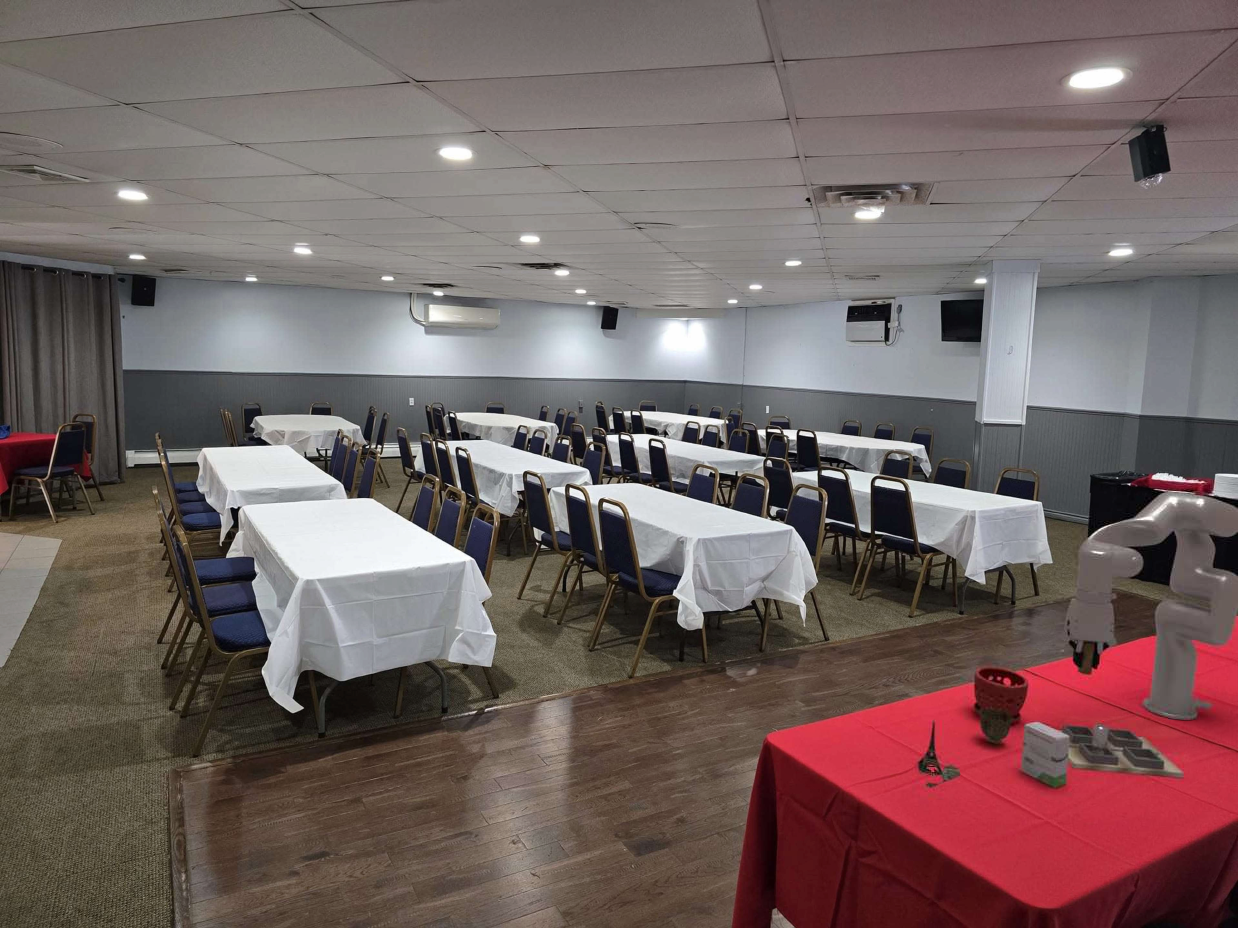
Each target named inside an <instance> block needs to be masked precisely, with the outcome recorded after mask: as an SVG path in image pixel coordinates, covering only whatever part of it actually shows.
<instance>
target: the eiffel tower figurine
mask: <svg viewBox="0 0 1238 928" xmlns="http://www.w3.org/2000/svg"><path fill="white" fill-rule="evenodd" d="M935 725H936V722H935V720H933V721H932V727H931V734H930V740H929V745H928V746H927V751H926V753H924V754H923V757H922V758H921V759H920V760H918V761H917V762H916V764H917V767H918V771H919V774H921V775H922V774H923V775H930V776H931V775H932V776H940V777H941V779H942V782H941V783H939V784H938V783H934V782H933V783H932V782H926V783H925V787H927V788H932V787H934V786H938V785H941V784H943V783H945V782H948V781H950V780H952V779H955V778H957V777H960V776H961V772H960V769H959V768H958V767H957V766H955V765H952V764H947V765H945V766H944V767H945V768H944V767H943V768H944V771H943V770H941V768H942V766H941V764H940V762H939V758H938V757H937V756H939V757H941V756H940V755H938V754H936V751H937V749H936V747H935V746H936V745H935V744H936V743H935V731H936V729H935V728H936V727H935ZM936 755H937V756H936ZM929 765H933V766H929ZM927 767H936V768H937V769H938V772H937V770H935V769H934V771H935V772H931V770H929V769H927ZM940 767H941V768H940ZM933 773H934V774H933ZM936 773H937V774H936ZM927 783H928V784H927Z"/></svg>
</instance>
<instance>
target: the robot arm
mask: <svg viewBox="0 0 1238 928" xmlns="http://www.w3.org/2000/svg"><path fill="white" fill-rule="evenodd" d="M1173 532H1174V534H1175V537H1176V544H1177V545H1176V551H1175V556H1174V560H1173V564H1172V569H1171V573H1170V579H1169V587H1170V590H1171V592H1173V593H1175V594H1177V596H1178V595H1179V596H1181V597H1185V598H1187V599H1192V600H1196V601H1200V602H1204V603H1209V604H1210V608H1209V607H1206V606H1202V605H1199V604H1195V603H1191V602H1187V601H1183V600H1179V599H1178V600H1177V599H1166V600H1163V601H1161V602H1160V603H1158V605H1157V606H1156V609H1155V610H1154V611H1155V612H1154V622H1155V630H1156V631H1155V632H1156V635H1155V636H1156V641H1155V652H1154V660H1153V667H1152V669H1153V670H1152V678H1151V688H1150V696H1149V697H1146V698H1144V699H1143V700H1142V706H1143V707H1144V708H1145V709H1146V710H1148V711H1149V712H1151V713H1154V714H1156V715H1159V716H1162V717H1164V718H1169V719H1174V720H1182V721H1183V720H1184V721H1192V720H1196V719H1197V718H1198V711H1197V710H1199V709H1204V710H1211V709H1212V704H1211V701H1210V702H1209V701H1201V699H1200V698H1194V697H1193V694H1194V687H1195V686H1194V685H1195V677H1196V672H1197V671H1196V669H1197V661H1198V652H1197V648H1196V645H1195V643H1194V641H1195V642H1199V643H1202V644H1205V645H1209V646H1214V647H1223V646H1225V645H1226V644H1227V643H1228V642H1229V640H1230V639H1231V637H1232V635H1233V631H1234V626H1235V622H1236V618H1237V614H1238V575H1236V573H1234V572H1233V571H1232V572H1231V571H1230V570H1225V569H1222V568H1221V569H1220V568H1216V567H1215V568H1214V567H1213V565H1214V559H1215V556H1216V555H1215V554H1216V545H1215V543H1214V541H1213V539H1212V537H1211V536H1216V537H1224V538H1229V537H1232V536H1234V535H1236V534H1237V533H1238V507H1236V506H1234V505H1231V504H1230V503H1227V502H1223V501H1222V500H1219V499H1216V498H1213V497H1209V496H1207V495H1206V496H1205V495H1202V494H1193V493H1186V492H1177V491H1166V492H1163V493H1160V494H1159V495H1157V496H1156V497H1155V498H1154V499H1153V500H1152V501H1150V503H1148V504H1147V505H1146V506H1145V507H1144V508H1143V509H1142V510H1141V511H1139V513H1137V514H1136V515H1135V516H1134V517H1133V518H1129V519H1125V520H1121V521H1118V522H1115V523H1111V524H1108V525H1105V526H1102V527H1100V528H1099V529H1096V530H1095V531H1094V532H1093V533H1092V534H1091V535H1090V536H1089V537H1087V538H1086V539H1085V540H1084V541H1083V543H1082V544H1081V546H1079V547H1080V548H1079V550H1078V553H1077V554H1078V555H1077V557H1078V563H1079V564H1078V570H1077V580H1076V588H1075V589H1076V590H1075V598H1074V597H1073V598H1071V600H1070V602H1069V605H1068V608H1067V612H1066V616H1065V621H1064V622H1065V623H1064V626H1063V627H1064V629H1063V631H1062V633H1061V634H1060V636H1059V639H1060V640H1062V642H1065V643H1067V644H1068V645H1069V646H1070V647H1071V649H1073V651H1072V653H1073V655H1072V662H1073V664H1074V665H1075V667H1077V669H1078V668H1081V667H1082V661H1083V653H1082V652H1081V651H1082V650H1081V649H1082V645H1083V641H1091V642H1094V643H1095V647H1094V656H1093V665H1092V669H1093V670H1098V666H1099V665H1100V659H1101V655H1103V653H1104V651H1106V650H1107V649H1108V648H1111V647H1113V646H1116V645H1118V641H1117V639H1116V636H1115V635H1114V632H1115V615H1114V607H1113V603H1111V602H1112V600H1115V599H1117V598H1118V597H1117V593H1114V592H1112V591H1113V590H1112V589H1113V588H1112V587H1113V582H1114V581H1113V580H1114V578H1115V577H1118V578H1132V577H1134V576H1137V575H1138V574H1139V573H1140V572H1141V571H1142V569H1143V567H1144V559H1143V556H1142V555H1141V553H1140V552H1138V551H1137V550H1135V549H1133V548H1130V547H1146V546H1153V545H1157V544H1160V543H1162V542H1163V541H1164V540H1165V539H1166V538H1167V537H1169V535H1171V533H1173ZM1210 535H1211V536H1210Z"/></svg>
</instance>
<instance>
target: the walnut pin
mask: <svg viewBox="0 0 1238 928" xmlns="http://www.w3.org/2000/svg"><path fill="white" fill-rule="evenodd" d="M1094 647H1095V643H1094V642H1091V641H1083V645H1082V649H1081V650H1082V651H1081V652H1082V653H1083V661H1082V667H1081V668H1078V667H1077V672H1078V673H1079V674H1082V675H1087V676H1088V675H1090V676H1091V675H1092V674H1093V673H1092V672H1093V668H1092V665H1093V656H1094Z"/></svg>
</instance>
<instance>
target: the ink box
mask: <svg viewBox="0 0 1238 928" xmlns="http://www.w3.org/2000/svg"><path fill="white" fill-rule="evenodd" d="M1057 730H1058V729H1056V728H1052V727H1051V726H1048V725H1045V724H1043V723H1042V722H1039V721H1035V722H1029V723H1026V724H1024V725H1023V740H1022V752H1021V753H1022V754H1021V764H1020V765H1021V767H1020V771H1021V772H1022V773H1024V774H1026V775H1027V776H1030V777H1032V778H1034V779H1036V780H1038V781H1039V782H1041V783H1044V784H1046V785H1048V786H1049V787H1051V788H1054V789H1056V788H1058V787H1061V786H1064V785H1066V784H1067V775H1068V764H1069V762H1068V752H1069V739H1070V736H1068V735H1066V734H1064V733H1062V732H1059V731H1057Z"/></svg>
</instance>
